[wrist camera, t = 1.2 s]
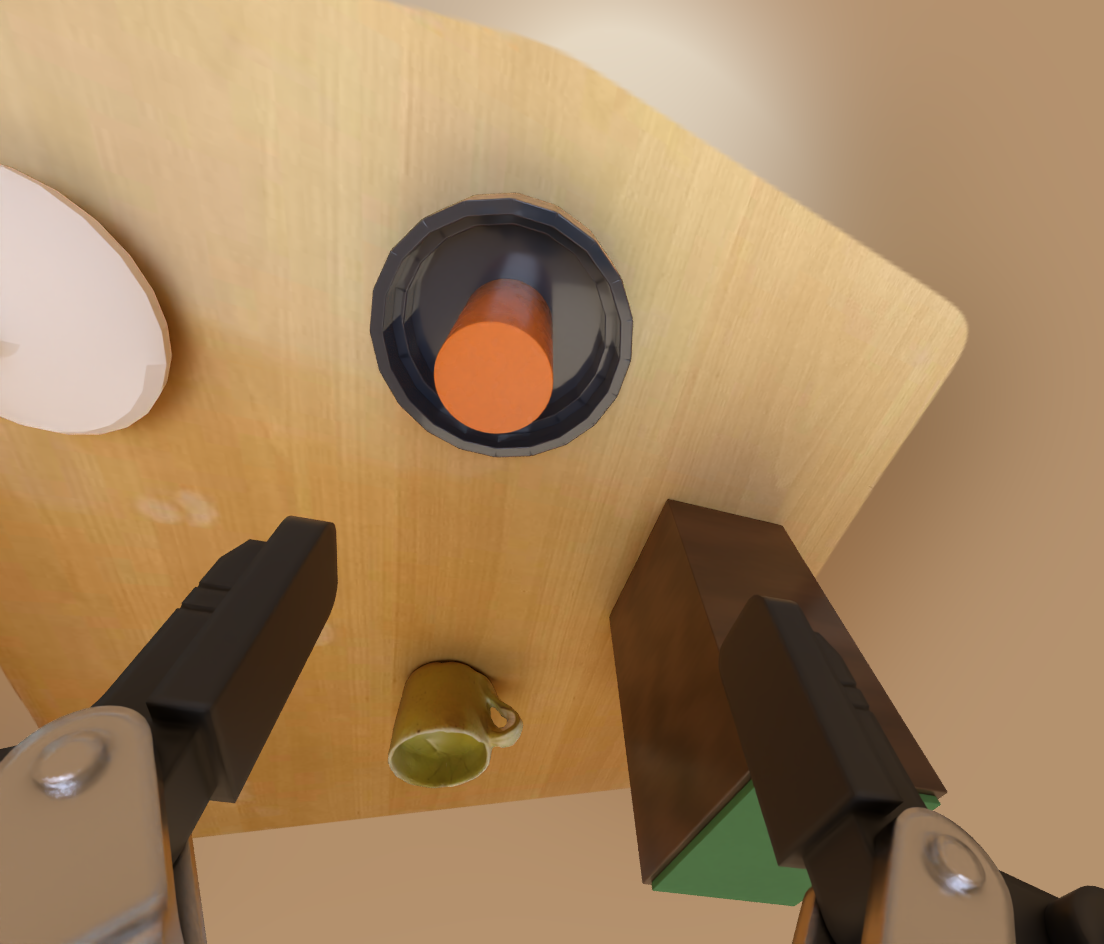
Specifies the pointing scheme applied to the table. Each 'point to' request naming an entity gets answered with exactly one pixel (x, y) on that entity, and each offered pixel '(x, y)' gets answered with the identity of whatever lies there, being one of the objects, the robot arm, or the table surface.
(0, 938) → the robot arm
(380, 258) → the table surface
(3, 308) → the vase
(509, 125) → the table surface
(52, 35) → the table surface
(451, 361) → the orange can
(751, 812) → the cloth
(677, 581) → the stand
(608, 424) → the table surface
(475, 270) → the pot
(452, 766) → the mug
